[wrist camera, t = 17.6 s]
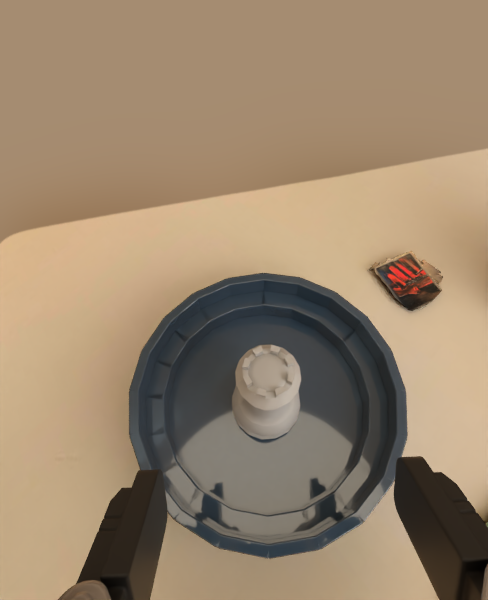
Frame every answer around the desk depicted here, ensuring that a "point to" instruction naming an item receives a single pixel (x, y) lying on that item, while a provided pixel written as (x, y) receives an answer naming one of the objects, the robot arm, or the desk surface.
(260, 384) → the rook chess piece
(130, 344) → the desk surface
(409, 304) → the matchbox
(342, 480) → the dish
